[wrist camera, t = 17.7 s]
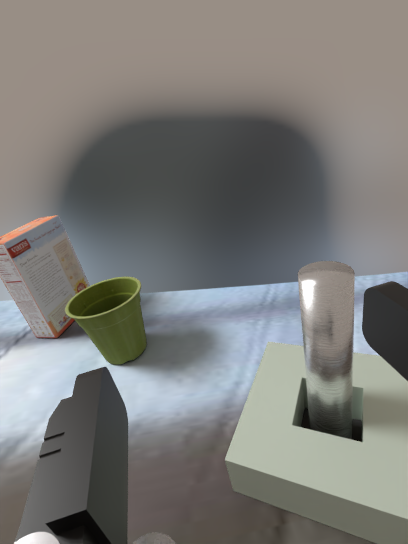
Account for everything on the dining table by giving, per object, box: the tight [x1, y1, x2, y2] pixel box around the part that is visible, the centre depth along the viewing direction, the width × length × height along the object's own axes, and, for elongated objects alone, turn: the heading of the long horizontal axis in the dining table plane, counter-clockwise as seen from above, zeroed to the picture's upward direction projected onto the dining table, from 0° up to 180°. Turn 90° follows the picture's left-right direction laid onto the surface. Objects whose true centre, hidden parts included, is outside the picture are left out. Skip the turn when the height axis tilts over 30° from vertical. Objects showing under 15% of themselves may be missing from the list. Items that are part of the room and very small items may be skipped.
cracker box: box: [0, 216, 90, 338], centre depth 62 cm, size 14×6×21 cm, turn 164°
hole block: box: [225, 342, 408, 544], centre depth 31 cm, size 16×16×5 cm
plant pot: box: [65, 277, 147, 364], centre depth 50 cm, size 12×12×11 cm
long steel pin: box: [298, 261, 354, 440], centre depth 28 cm, size 4×4×20 cm
